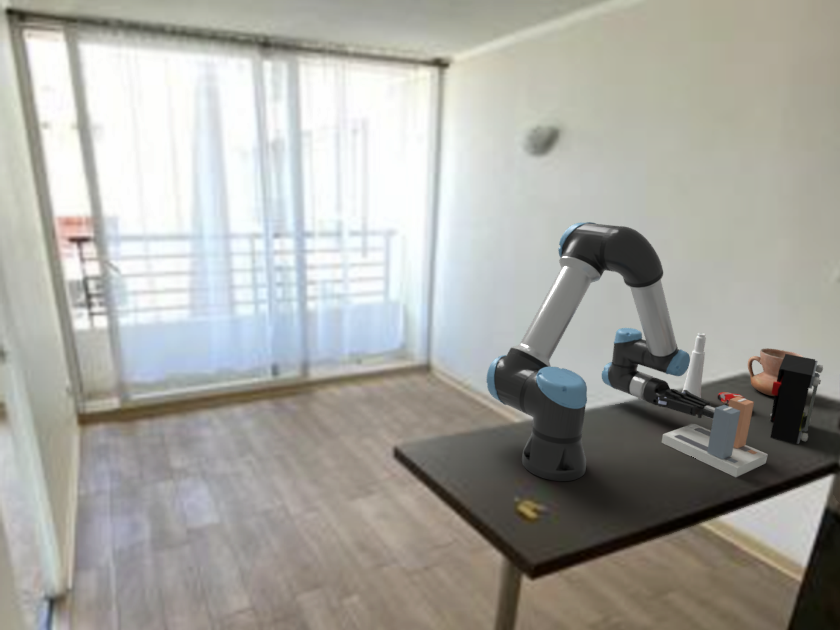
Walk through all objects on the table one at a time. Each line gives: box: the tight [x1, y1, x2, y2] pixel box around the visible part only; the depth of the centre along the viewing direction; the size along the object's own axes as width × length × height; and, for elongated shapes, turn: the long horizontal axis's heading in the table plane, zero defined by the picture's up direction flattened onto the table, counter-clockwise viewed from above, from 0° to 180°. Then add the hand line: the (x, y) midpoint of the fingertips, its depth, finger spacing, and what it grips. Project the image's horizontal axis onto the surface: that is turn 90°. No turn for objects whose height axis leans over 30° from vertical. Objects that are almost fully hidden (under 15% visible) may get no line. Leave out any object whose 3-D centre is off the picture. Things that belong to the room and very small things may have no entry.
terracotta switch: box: [729, 397, 755, 448], centre depth 143 cm, size 4×4×12 cm
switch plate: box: [661, 422, 768, 478], centre depth 145 cm, size 20×14×3 cm
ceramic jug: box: [747, 347, 804, 397], centre depth 188 cm, size 18×14×14 cm
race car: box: [717, 391, 745, 406], centre depth 177 cm, size 13×5×4 cm, turn 0°
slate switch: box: [707, 404, 740, 459], centre depth 138 cm, size 4×4×12 cm
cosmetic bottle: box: [681, 332, 707, 398], centre depth 178 cm, size 6×6×22 cm
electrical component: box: [769, 354, 824, 445], centre depth 158 cm, size 18×10×20 cm, turn 143°
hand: (729, 419), depth 145 cm, fingers closed
